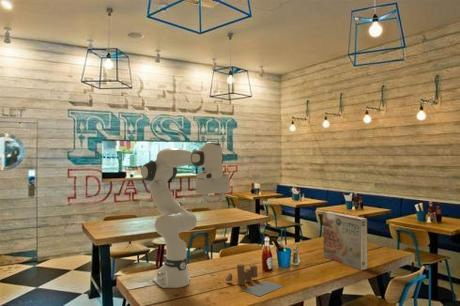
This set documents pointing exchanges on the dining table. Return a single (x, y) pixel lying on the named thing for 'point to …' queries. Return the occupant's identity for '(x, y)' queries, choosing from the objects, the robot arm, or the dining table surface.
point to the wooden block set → (244, 274)
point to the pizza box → (345, 239)
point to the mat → (262, 288)
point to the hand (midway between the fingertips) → (213, 202)
